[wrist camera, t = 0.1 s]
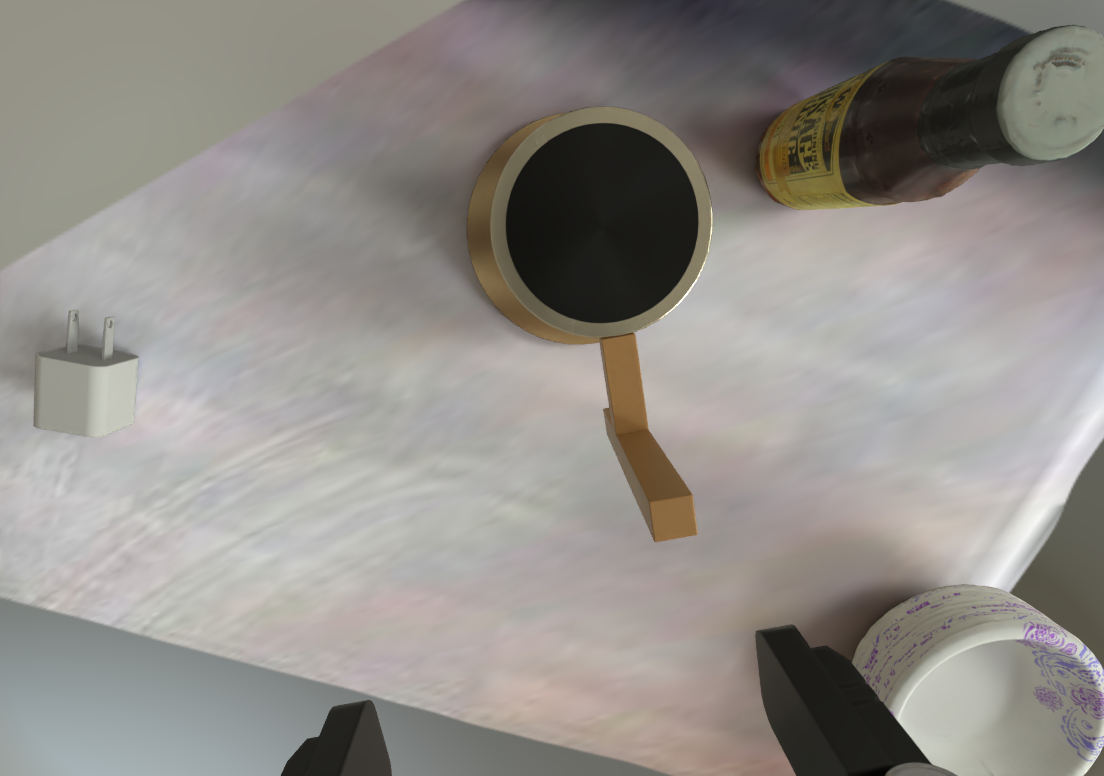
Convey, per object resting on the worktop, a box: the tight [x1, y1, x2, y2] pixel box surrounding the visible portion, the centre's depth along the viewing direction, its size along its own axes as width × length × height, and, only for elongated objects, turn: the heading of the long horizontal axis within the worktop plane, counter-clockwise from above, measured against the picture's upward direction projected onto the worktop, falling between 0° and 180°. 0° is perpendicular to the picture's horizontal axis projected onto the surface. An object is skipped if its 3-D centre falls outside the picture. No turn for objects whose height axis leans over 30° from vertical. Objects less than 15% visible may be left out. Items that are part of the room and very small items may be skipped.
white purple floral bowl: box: [852, 585, 1104, 776], centre depth 43 cm, size 15×15×8 cm
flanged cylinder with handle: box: [490, 106, 713, 542], centre depth 30 cm, size 16×10×19 cm, turn 10°
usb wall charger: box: [34, 310, 138, 437], centre depth 37 cm, size 4×7×4 cm, turn 168°
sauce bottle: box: [756, 25, 1104, 210], centre depth 29 cm, size 7×6×20 cm
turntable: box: [467, 113, 599, 344], centre depth 38 cm, size 14×14×1 cm
